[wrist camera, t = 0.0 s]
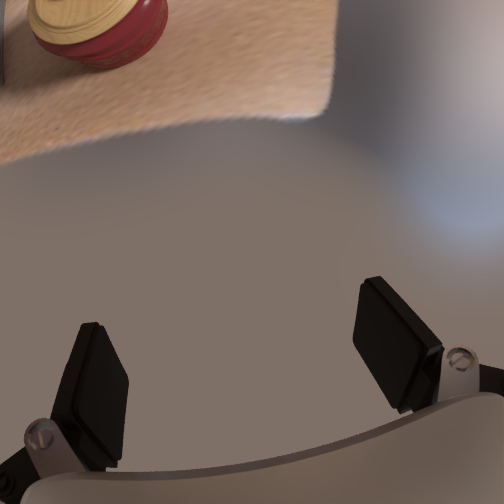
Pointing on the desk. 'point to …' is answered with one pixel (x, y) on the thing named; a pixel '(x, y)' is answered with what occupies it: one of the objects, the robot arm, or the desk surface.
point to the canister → (98, 29)
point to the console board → (1, 39)
